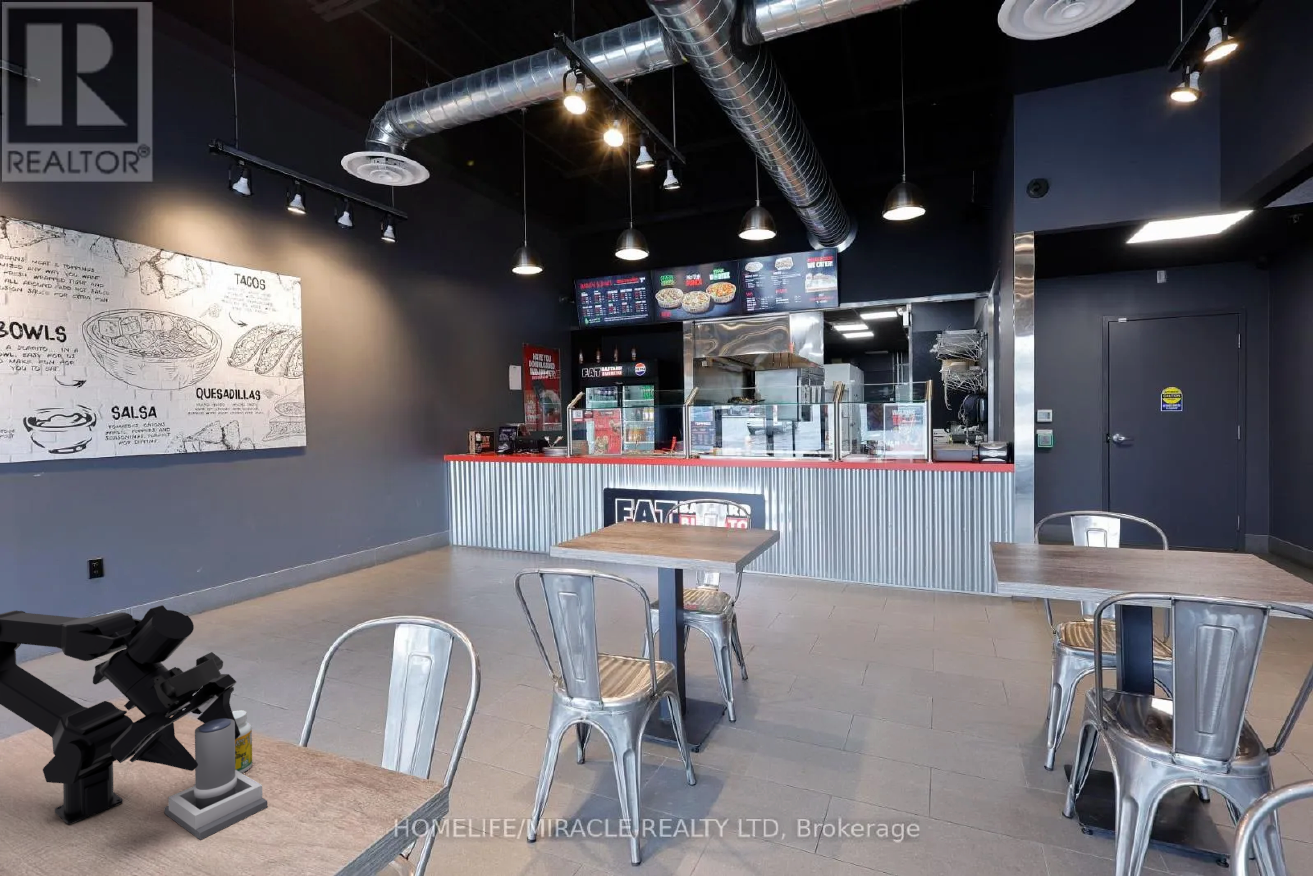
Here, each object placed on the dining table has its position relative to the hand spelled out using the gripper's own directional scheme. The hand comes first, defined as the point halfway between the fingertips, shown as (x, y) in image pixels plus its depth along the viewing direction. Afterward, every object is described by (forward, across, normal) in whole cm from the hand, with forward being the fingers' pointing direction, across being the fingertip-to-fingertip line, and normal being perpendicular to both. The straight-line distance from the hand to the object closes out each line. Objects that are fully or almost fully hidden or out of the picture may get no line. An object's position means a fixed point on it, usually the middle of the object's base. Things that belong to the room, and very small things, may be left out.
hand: (217, 752), depth 94 cm
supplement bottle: (+3, +12, +10) cm, 16 cm away
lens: (+5, 0, +6) cm, 8 cm away
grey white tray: (+6, 0, +7) cm, 9 cm away
